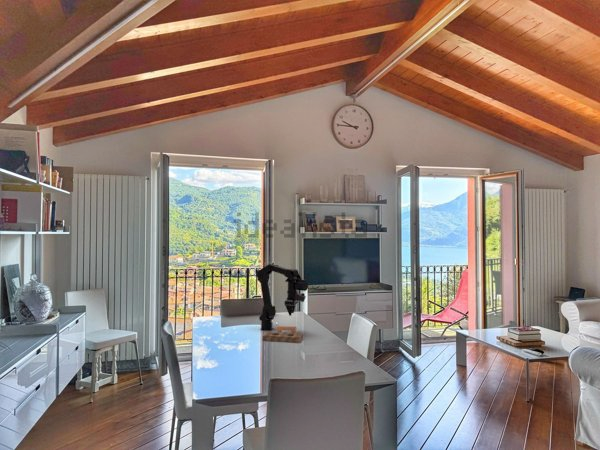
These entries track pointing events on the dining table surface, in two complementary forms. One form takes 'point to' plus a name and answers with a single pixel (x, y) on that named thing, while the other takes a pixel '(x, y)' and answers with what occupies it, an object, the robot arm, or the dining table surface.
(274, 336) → the brown slotted board
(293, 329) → the tall terracotta pillar
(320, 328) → the dining table surface
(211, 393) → the dining table surface
